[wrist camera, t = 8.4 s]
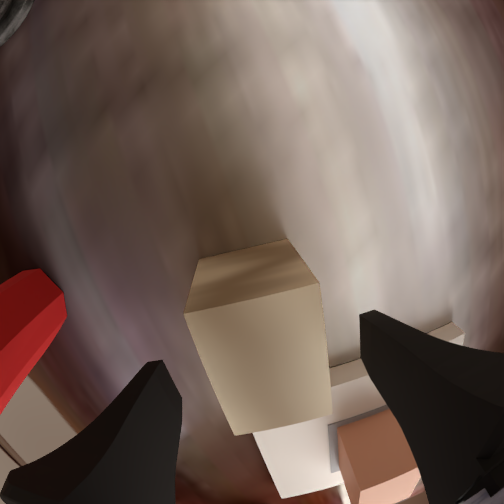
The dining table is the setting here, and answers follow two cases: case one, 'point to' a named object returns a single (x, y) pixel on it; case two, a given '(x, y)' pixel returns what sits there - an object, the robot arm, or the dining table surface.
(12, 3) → the grey stone statuette
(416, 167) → the dining table surface
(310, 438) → the tower plate
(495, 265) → the dining table surface
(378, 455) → the terracotta brick
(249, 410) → the birch brick
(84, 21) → the dining table surface
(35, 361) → the french fries
